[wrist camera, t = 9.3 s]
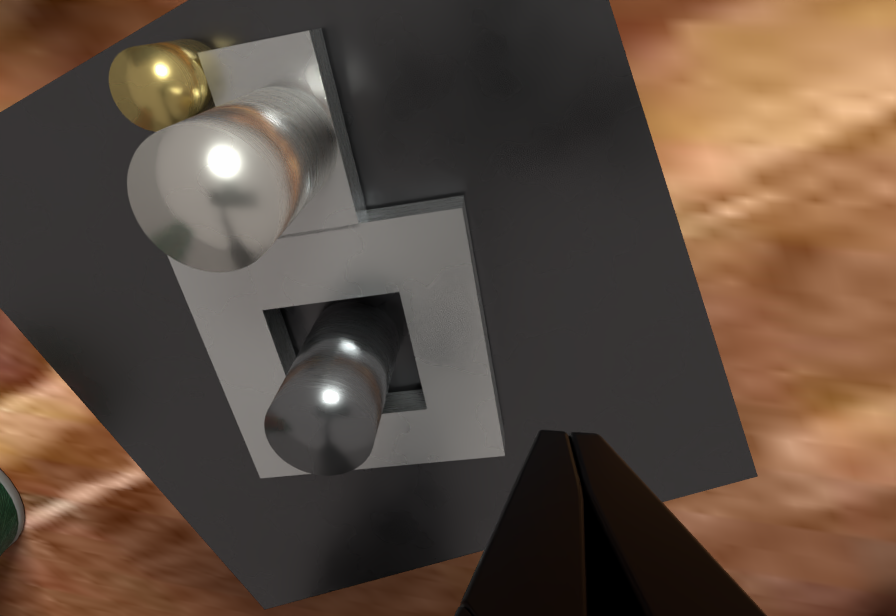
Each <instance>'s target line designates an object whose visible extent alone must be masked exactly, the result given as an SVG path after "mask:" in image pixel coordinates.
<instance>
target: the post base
mask: <svg viewBox="0 0 896 616" xmlns="http://www.w3.org/2000/svg"><path fill="white" fill-rule="evenodd" d="M319 28H321V29H322V33H323V37H324V41H325V45H326V49H327V53H328V57H329V61H330V65H331V69H332V73H333V77H334V81H335V85H336V89H337V94H338V98H339V102H340V106H341V110H342V114H343V118H344V122H345V126H346V130H347V134H348V138H349V142H350V146H351V150H352V154H353V158H354V162H355V166H356V170H357V174H358V178H359V182H360V186H361V190H362V194H363V198H364V202H365V206H366V210H371V209H377V208H384V207H390V206H397V205H403V204H410V203H416V202H423V201H429V200H436V199H442V198H449V197H455V196H462V195H464V199H465V205H466V211H467V217H468V223H469V228H470V234H471V240H472V246H473V252H474V258H475V264H476V270H477V275H478V281H479V287H480V293H481V299H482V305H483V311H484V317H485V322H486V328H487V334H488V340H489V346H490V352H491V358H492V364H493V369H494V375H495V381H496V387H497V393H498V399H499V405H500V411H501V416H502V422H503V428H504V437H505V456H498V457H487V458H477V459H466V460H455V461H444V462H433V463H422V464H411V465H401V466H390V467H379V468H368V469H357V470H354V469H356V468H358V467H359V466H360V465H362V464H363V463H364V462H365V461H366V460H367V458H368V457H369V456H370V454H371V452H372V449H373V445H374V442H375V438H376V434H377V430H378V427H379V423H380V419H381V415H382V411H383V408H384V404H385V400H386V396H387V393H393V392H402V391H411V390H420V389H422V385H421V381H420V377H419V372H418V368H417V364H416V360H415V356H414V351H413V347H412V343H411V339H410V335H409V330H408V326H407V322H406V318H405V313H404V309H403V305H402V301H401V297H400V292H395V293H388V294H380V295H373V296H365V297H358V298H350V299H343V300H335V301H328V302H320V303H312V304H305V305H297V306H290V307H282V308H280V311H281V314H282V317H283V320H284V322H285V325H286V328H287V331H288V334H289V337H290V340H291V343H292V346H293V349H294V352H295V355H296V358H295V360H294V362H293V364H292V366H291V368H290V370H289V371H288V373H287V375H286V377H285V379H284V381H283V383H282V384H281V386H280V388H279V390H278V392H277V394H276V396H275V397H274V399H273V401H272V403H271V405H270V407H269V408H268V410H267V413H266V416H265V420H264V429H265V434H266V438H267V440H268V442H269V444H270V446H271V447H272V449H273V450H274V451H275V453H276V454H277V455H278V456H279V457H280V458H281V459H282V460H284V461H285V462H286V463H288V464H289V465H291V466H293V467H295V468H297V469H299V470H301V471H304V472H307V473H311V474H303V475H292V476H281V477H270V478H260V476H259V474H258V472H257V469H256V467H255V464H254V462H253V460H252V457H251V455H250V452H249V450H248V448H247V445H246V443H245V440H244V438H243V436H242V433H241V431H240V428H239V426H238V424H237V421H236V419H235V416H234V414H233V412H232V409H231V407H230V404H229V402H228V400H227V397H226V395H225V392H224V390H223V388H222V385H221V383H220V381H219V378H218V376H217V373H216V371H215V369H214V366H213V364H212V361H211V359H210V357H209V354H208V352H207V349H206V347H205V345H204V342H203V340H202V337H201V335H200V333H199V330H198V328H197V325H196V323H195V321H194V318H193V316H192V313H191V311H190V309H189V306H188V304H187V301H186V299H185V297H184V294H183V292H182V289H181V287H180V285H179V282H178V280H177V277H176V275H175V273H174V270H173V268H172V265H171V263H170V261H169V258H168V256H167V254H165V253H164V252H163V251H162V250H160V249H159V248H158V247H157V246H156V245H155V244H154V243H153V242H152V241H151V240H150V239H149V238H148V236H147V235H146V234H145V233H144V231H143V230H142V228H141V227H140V225H139V223H138V221H137V219H136V217H135V215H134V213H133V211H132V208H131V205H130V201H129V197H128V189H127V175H128V170H129V165H130V163H131V160H132V157H133V155H134V153H135V152H136V150H137V149H138V147H139V146H140V145H141V143H142V142H143V141H144V140H146V139H147V138H148V137H149V136H150V135H152V134H153V133H155V132H157V131H159V130H161V129H163V128H166V127H168V126H171V125H173V124H176V123H178V122H180V121H183V120H185V119H188V118H190V117H192V116H195V115H197V114H200V113H202V112H205V111H207V110H209V109H212V108H214V107H216V106H215V103H214V100H213V97H212V94H211V91H210V89H209V86H208V83H207V80H206V77H205V74H204V71H203V68H202V65H201V62H200V59H199V56H198V53H199V52H203V51H208V50H213V49H218V48H223V47H228V46H233V45H238V44H243V43H248V42H253V41H258V40H263V39H268V38H273V37H278V36H283V35H288V34H293V33H299V32H304V31H309V30H314V29H319ZM0 308H1V309H2V310H3V312H4V313H5V314H6V315H7V316H8V317H9V318H10V320H11V321H12V322H13V323H14V324H15V325H16V326H17V328H18V329H19V330H20V331H21V332H22V333H23V334H24V336H25V337H26V338H27V339H28V340H29V341H30V342H31V343H32V345H33V346H34V347H35V348H36V349H37V350H38V351H39V353H40V354H41V355H42V356H43V357H44V358H45V359H46V361H47V362H48V363H49V364H50V365H51V366H52V367H53V369H54V370H55V371H56V372H57V373H58V374H59V375H60V377H61V378H62V379H63V380H64V381H65V382H66V383H67V385H68V386H69V387H70V388H71V389H72V390H73V391H74V393H75V394H76V395H77V396H78V397H79V398H80V399H81V401H82V402H83V403H84V404H85V405H86V406H87V407H88V408H89V410H90V411H91V412H92V413H93V414H94V415H95V416H96V418H97V419H98V420H99V421H100V422H101V423H102V424H103V426H104V427H105V428H106V429H107V430H108V431H109V432H110V434H111V435H112V436H113V437H114V438H115V439H116V440H117V442H118V443H119V444H120V445H121V446H122V447H123V448H124V450H125V451H126V452H127V453H128V454H129V455H130V456H131V458H132V459H133V460H134V461H135V462H136V463H137V464H138V466H139V467H140V468H141V469H142V470H143V471H144V472H145V474H146V475H147V476H148V477H149V478H150V479H151V480H152V481H153V483H154V484H155V485H156V486H157V487H158V488H159V489H160V491H161V492H162V493H163V494H164V495H165V496H166V497H167V499H168V500H169V501H170V502H171V503H172V504H173V505H174V507H175V508H176V509H177V510H178V511H179V512H180V513H181V515H182V516H183V517H184V518H185V519H186V520H187V521H188V523H189V524H190V525H191V526H192V527H193V528H194V529H195V531H196V532H197V533H198V534H199V535H200V536H201V537H202V539H203V540H204V541H205V542H206V543H207V544H208V545H209V546H210V548H211V549H212V550H213V551H214V552H215V553H216V554H217V556H218V557H219V558H220V559H221V560H222V561H223V562H224V564H225V565H226V566H227V567H228V568H229V569H230V570H231V572H232V573H233V574H234V575H235V576H236V577H237V578H238V580H239V581H240V582H241V583H242V584H243V585H244V586H245V588H246V589H247V590H248V591H249V592H250V593H251V594H252V596H253V597H254V598H255V599H256V600H257V601H258V602H259V604H260V605H261V606H262V607H263V608H264V609H268V608H272V607H276V606H279V605H283V604H287V603H291V602H294V601H298V600H302V599H305V598H309V597H313V596H317V595H320V594H324V593H328V592H331V591H335V590H339V589H342V588H346V587H350V586H354V585H357V584H361V583H365V582H368V581H372V580H376V579H379V578H383V577H387V576H391V575H394V574H398V573H402V572H405V571H409V570H413V569H416V568H420V567H424V566H428V565H431V564H435V563H439V562H442V561H446V560H450V559H453V558H457V557H461V556H465V555H468V554H472V553H476V552H479V551H483V550H485V547H486V545H487V543H488V541H489V538H490V536H491V534H492V532H493V530H494V527H495V525H496V523H497V521H498V518H499V516H500V514H501V512H502V509H503V507H504V505H505V503H506V501H507V498H508V496H509V494H510V492H511V489H512V487H513V485H514V483H515V480H516V478H517V476H518V474H519V472H520V469H521V467H522V465H523V463H524V460H525V458H526V456H527V454H528V452H529V449H530V447H531V445H532V443H533V440H534V438H535V436H536V434H537V432H538V431H539V430H556V431H565V432H566V433H567V434H568V435H569V434H570V433H571V432H585V433H596V434H599V435H600V436H601V437H602V438H603V439H604V440H605V441H606V442H607V443H608V444H609V445H610V446H611V447H612V448H613V449H614V451H615V452H616V453H617V454H618V455H619V456H620V457H621V458H622V459H623V460H624V461H625V462H626V464H627V465H628V466H629V467H630V468H631V469H632V470H633V471H634V472H635V473H636V474H637V475H638V477H639V478H640V479H641V480H642V481H643V482H644V483H645V484H646V485H647V486H648V487H649V488H650V490H651V491H652V492H653V493H654V494H655V495H656V496H657V497H658V498H659V499H660V500H661V501H662V502H664V501H668V500H672V499H676V498H679V497H683V496H687V495H690V494H694V493H698V492H701V491H705V490H709V489H713V488H716V487H720V486H724V485H727V484H731V483H735V482H739V481H742V480H746V479H750V478H753V477H757V473H756V469H755V466H754V463H753V460H752V457H751V453H750V450H749V447H748V444H747V441H746V437H745V434H744V431H743V428H742V425H741V421H740V418H739V415H738V412H737V409H736V405H735V402H734V399H733V396H732V393H731V389H730V386H729V383H728V380H727V377H726V373H725V370H724V367H723V364H722V361H721V357H720V354H719V351H718V348H717V345H716V341H715V338H714V335H713V332H712V329H711V325H710V322H709V319H708V316H707V313H706V309H705V306H704V303H703V300H702V297H701V294H700V290H699V287H698V284H697V281H696V278H695V274H694V271H693V268H692V265H691V262H690V258H689V255H688V252H687V249H686V246H685V242H684V239H683V236H682V233H681V230H680V226H679V223H678V220H677V217H676V214H675V210H674V207H673V204H672V201H671V198H670V194H669V191H668V188H667V185H666V182H665V178H664V175H663V172H662V169H661V166H660V162H659V159H658V156H657V153H656V150H655V146H654V143H653V140H652V137H651V134H650V130H649V127H648V124H647V121H646V118H645V114H644V111H643V108H642V105H641V102H640V98H639V95H638V92H637V89H636V86H635V82H634V79H633V76H632V73H631V70H630V66H629V63H628V60H627V57H626V54H625V50H624V47H623V44H622V41H621V38H620V34H619V31H618V28H617V25H616V22H615V18H614V15H613V12H612V9H611V6H610V2H609V0H188V1H186V2H185V3H183V4H181V5H180V6H178V7H176V8H175V9H173V10H171V11H170V12H168V13H166V14H165V15H163V16H161V17H160V18H158V19H156V20H154V21H153V22H151V23H149V24H148V25H146V26H144V27H143V28H141V29H139V30H138V31H136V32H134V33H133V34H131V35H129V36H128V37H126V38H124V39H123V40H121V41H119V42H118V43H116V44H114V45H113V46H111V47H109V48H108V49H106V50H104V51H102V52H101V53H99V54H97V55H96V56H94V57H92V58H91V59H89V60H87V61H86V62H84V63H82V64H81V65H79V66H77V67H76V68H74V69H72V70H71V71H69V72H67V73H66V74H64V75H62V76H61V77H59V78H57V79H56V80H54V81H52V82H51V83H49V84H47V85H45V86H44V87H42V88H40V89H39V90H37V91H35V92H34V93H32V94H30V95H29V96H27V97H25V98H24V99H22V100H20V101H19V102H17V103H15V104H14V105H12V106H10V107H9V108H7V109H5V110H4V111H2V112H0Z"/></svg>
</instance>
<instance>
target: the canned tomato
mask: <svg viewBox="0 0 896 616" xmlns="http://www.w3.org/2000/svg"><path fill="white" fill-rule="evenodd" d="M24 520H25V515H24V508H23V504H22V501H21V499H20V496H19V493H18V491H17V490H16V488H15V487H14V485H13V484H12V482H11V481H10V479H9V478H8V477H7V476H6V475H5V474H4V472H3V471H2V470H1V469H0V556H1V555H2V554H3V552H4V551H5V550H6V549H7V548H8V547H10V546H11V545H12V544H13V543H14V542H15V541H16V540H17V539H18V537H19V535H20V533H21V531H22V530H23V526H24Z"/></svg>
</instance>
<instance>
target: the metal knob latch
mask: <svg viewBox="0 0 896 616" xmlns="http://www.w3.org/2000/svg"><path fill="white" fill-rule="evenodd" d="M198 56H199V59H200V62H201V65H202V68H203V71H204V74H205V77H206V80H207V83H208V86H209V89H210V91H211V94H212V97H213V100H214V103H215V106H216V107H214V108H212V109H209V110H207V111H205V112H202V113H200V114H197V115H195V116H192V117H190V118H188V119H185V120H183V121H180V122H178V123H176V124H173V125H171V126H168V127H166V128H163V129H161V130H159V131H157V132H155V133H153V134H152V135H150V136H149V137H148V138H147V139H146V140H144V141H143V142H142V143H141V145H140V146H139V147H138V149H137V150H136V152H135V153H134V155H133V157H132V160H131V163H130V165H129V170H128V175H127V189H128V197H129V201H130V205H131V208H132V211H133V213H134V215H135V217H136V219H137V221H138V223H139V225H140V227H141V228H142V230H143V231H144V233H145V234H146V235H147V236H148V238H149V239H150V240H151V241H152V242H153V243H154V244H155V245H156V246H157V247H158V248H159V249H160V250H162V251H163V252H164V253H165V254H167V256H168V258H169V261H170V263H171V265H172V268H173V270H174V273H175V275H176V277H177V280H178V282H179V285H180V287H181V289H182V292H183V294H184V297H185V299H186V301H187V304H188V306H189V309H190V311H191V313H192V316H193V318H194V321H195V323H196V325H197V328H198V330H199V333H200V335H201V337H202V340H203V342H204V345H205V347H206V349H207V352H208V354H209V357H210V359H211V361H212V364H213V366H214V369H215V371H216V373H217V376H218V378H219V381H220V383H221V385H222V388H223V390H224V392H225V395H226V397H227V400H228V402H229V404H230V407H231V409H232V412H233V414H234V416H235V419H236V421H237V424H238V426H239V428H240V431H241V433H242V436H243V438H244V440H245V443H246V445H247V448H248V450H249V452H250V455H251V457H252V460H253V462H254V464H255V467H256V469H257V472H258V474H259V476H260V478H270V477H281V476H292V475H303V474H311V473H307V472H304V471H301V470H299V469H297V468H295V467H293V466H291V465H289V464H288V463H286V462H285V461H284V460H282V459H281V458H280V457H279V456H278V455H277V454H276V453H275V451H274V450H273V449H272V447H271V446H270V444H269V442H268V440H267V438H266V434H265V429H264V420H265V416H266V413H267V410H268V408H269V407H270V405H271V403H272V401H273V399H274V397H275V396H276V394H277V392H278V390H279V388H280V386H281V384H282V383H283V381H284V379H285V377H286V375H287V373H288V371H289V370H290V368H291V366H292V364H293V362H294V360H295V358H296V355H295V352H294V349H293V346H292V343H291V340H290V337H289V334H288V331H287V328H286V325H285V322H284V320H283V317H282V314H281V311H280V308H282V307H290V306H297V305H305V304H312V303H320V302H328V301H335V300H343V299H350V298H358V297H365V296H373V295H380V294H388V293H395V292H400V297H401V301H402V305H403V309H404V313H405V318H406V322H407V326H408V330H409V335H410V339H411V343H412V347H413V351H414V356H415V360H416V364H417V368H418V372H419V377H420V381H421V385H422V389H420V390H411V391H402V392H393V393H387V396H386V400H385V404H384V408H383V411H382V415H381V419H380V423H379V427H378V430H377V434H376V438H375V442H374V445H373V449H372V452H371V454H370V456H369V457H368V458H367V460H366V461H365V462H364V463H363V464H362V465H360V466H359V467H358V468H356V469H354V470H357V469H368V468H379V467H390V466H401V465H411V464H422V463H433V462H444V461H455V460H466V459H477V458H487V457H498V456H505V437H504V428H503V422H502V416H501V411H500V405H499V399H498V393H497V387H496V381H495V375H494V369H493V364H492V358H491V352H490V346H489V340H488V334H487V328H486V322H485V317H484V311H483V305H482V299H481V293H480V287H479V281H478V275H477V270H476V264H475V258H474V252H473V246H472V240H471V234H470V228H469V223H468V217H467V211H466V205H465V199H464V195H462V196H455V197H449V198H442V199H436V200H429V201H423V202H416V203H410V204H403V205H397V206H390V207H384V208H377V209H371V210H366V206H365V202H364V198H363V194H362V190H361V186H360V182H359V178H358V174H357V170H356V166H355V162H354V158H353V154H352V150H351V146H350V142H349V138H348V134H347V130H346V126H345V122H344V118H343V114H342V110H341V106H340V102H339V98H338V94H337V89H336V85H335V81H334V77H333V73H332V69H331V65H330V61H329V57H328V53H327V49H326V45H325V41H324V37H323V33H322V29H321V28H319V29H314V30H309V31H304V32H299V33H293V34H288V35H283V36H278V37H273V38H268V39H263V40H258V41H253V42H248V43H243V44H238V45H233V46H228V47H223V48H218V49H213V50H208V51H203V52H199V53H198Z"/></svg>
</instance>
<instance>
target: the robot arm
mask: <svg viewBox="0 0 896 616" xmlns="http://www.w3.org/2000/svg"><path fill="white" fill-rule="evenodd" d="M454 616H767V615H766V614H765V613H764V612H763V611H762V610H761V609H760V608H759V607H758V605H757V604H756V603H755V602H754V601H753V600H752V599H751V598H750V597H749V596H748V595H747V594H746V592H745V591H744V590H743V589H742V588H741V587H740V586H739V585H738V584H737V583H736V582H735V581H734V579H733V578H732V577H731V576H730V575H729V574H728V573H727V572H726V571H725V570H724V569H723V568H722V566H721V565H720V564H719V563H718V562H717V561H716V560H715V559H714V558H713V557H712V556H711V555H710V553H709V552H708V551H707V550H706V549H705V548H704V547H703V546H702V545H701V544H700V543H699V542H698V540H697V539H696V538H695V537H694V536H693V535H692V534H691V533H690V532H689V531H688V530H687V529H686V527H685V526H684V525H683V524H682V523H681V522H680V521H679V520H678V519H677V518H676V517H675V516H674V514H673V513H672V512H671V511H670V510H669V509H668V508H667V507H666V506H665V505H664V504H663V503H662V501H661V500H660V499H659V498H658V497H657V496H656V495H655V494H654V493H653V492H652V491H651V490H650V488H649V487H648V486H647V485H646V484H645V483H644V482H643V481H642V480H641V479H640V478H639V477H638V475H637V474H636V473H635V472H634V471H633V470H632V469H631V468H630V467H629V466H628V465H627V464H626V462H625V461H624V460H623V459H622V458H621V457H620V456H619V455H618V454H617V453H616V452H615V451H614V449H613V448H612V447H611V446H610V445H609V444H608V443H607V442H606V441H605V440H604V439H603V438H602V437H601V436H600V435H599V434H596V433H585V432H571V433H570V434H569V435H568V434H567V433H566V432H565V431H556V430H539V431H538V432H537V434H536V436H535V438H534V440H533V443H532V445H531V447H530V449H529V452H528V454H527V456H526V458H525V460H524V463H523V465H522V467H521V469H520V472H519V474H518V476H517V478H516V480H515V483H514V485H513V487H512V489H511V492H510V494H509V496H508V498H507V501H506V503H505V505H504V507H503V509H502V512H501V514H500V516H499V518H498V521H497V523H496V525H495V527H494V530H493V532H492V534H491V536H490V538H489V541H488V543H487V545H486V547H485V550H484V552H483V554H482V556H481V559H480V561H479V563H478V565H477V567H476V570H475V572H474V574H473V576H472V579H471V581H470V583H469V585H468V588H467V590H466V592H465V594H464V596H463V599H462V601H461V605H460V607H458V609H457V611H456V613H455V615H454Z"/></svg>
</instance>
